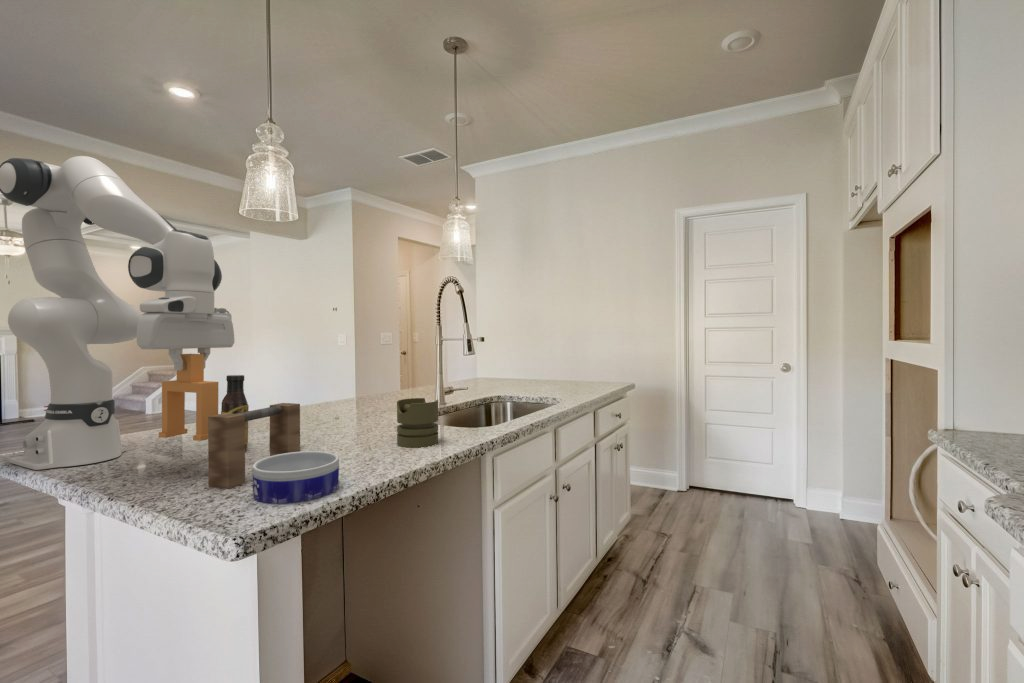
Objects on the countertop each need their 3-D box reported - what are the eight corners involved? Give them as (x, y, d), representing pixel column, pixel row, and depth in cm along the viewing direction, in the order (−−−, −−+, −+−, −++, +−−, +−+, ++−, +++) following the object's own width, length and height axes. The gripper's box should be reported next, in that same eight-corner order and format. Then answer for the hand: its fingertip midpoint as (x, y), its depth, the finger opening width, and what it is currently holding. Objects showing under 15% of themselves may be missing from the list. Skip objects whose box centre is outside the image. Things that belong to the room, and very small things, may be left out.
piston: (420, 397, 140) (446, 400, 132) (420, 437, 140) (446, 442, 133) (388, 401, 131) (414, 404, 124) (388, 443, 131) (414, 450, 124)
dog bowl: (354, 489, 92) (354, 459, 92) (273, 511, 81) (273, 476, 81) (315, 474, 102) (315, 447, 102) (239, 492, 90) (239, 461, 90)
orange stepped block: (158, 437, 101) (158, 353, 101) (180, 432, 106) (180, 353, 106) (200, 440, 98) (200, 355, 98) (221, 436, 103) (221, 354, 103)
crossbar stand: (208, 486, 93) (208, 416, 93) (282, 461, 113) (282, 402, 113) (228, 488, 92) (228, 417, 92) (300, 462, 111) (299, 403, 111)
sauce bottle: (235, 454, 119) (234, 376, 119) (214, 453, 120) (213, 375, 120) (254, 448, 125) (253, 374, 125) (234, 447, 127) (233, 374, 126)
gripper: (220, 308, 113) (219, 366, 113) (130, 302, 93) (130, 372, 93) (241, 308, 111) (241, 367, 111) (155, 302, 91) (154, 373, 92)
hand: (190, 369), depth 102 cm, fingers closed on orange stepped block, 3 cm apart
